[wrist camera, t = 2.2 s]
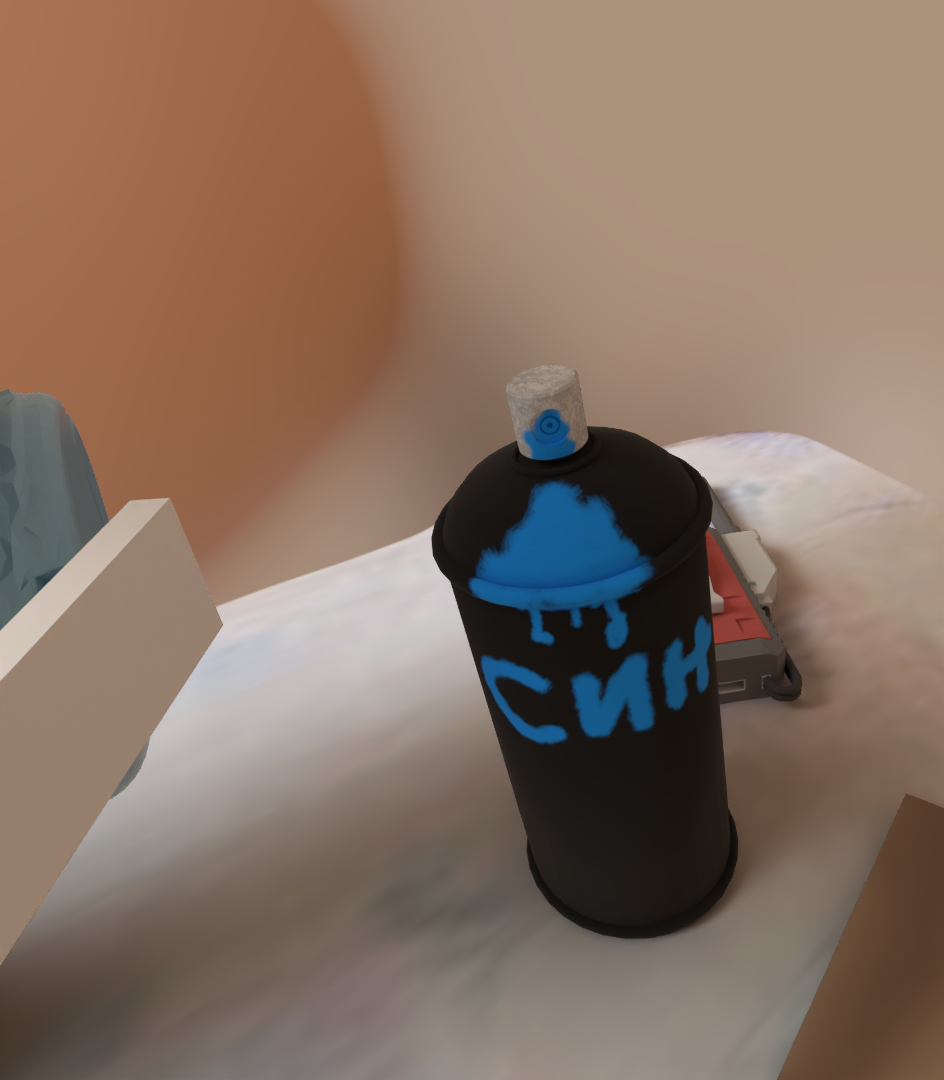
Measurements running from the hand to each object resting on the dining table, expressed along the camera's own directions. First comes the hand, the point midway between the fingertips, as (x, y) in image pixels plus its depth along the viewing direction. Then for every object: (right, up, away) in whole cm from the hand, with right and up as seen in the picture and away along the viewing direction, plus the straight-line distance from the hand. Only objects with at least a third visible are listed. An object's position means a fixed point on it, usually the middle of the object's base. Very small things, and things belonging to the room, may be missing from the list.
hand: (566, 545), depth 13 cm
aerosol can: (+5, -12, +20) cm, 24 cm away
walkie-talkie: (+11, -3, +33) cm, 35 cm away
